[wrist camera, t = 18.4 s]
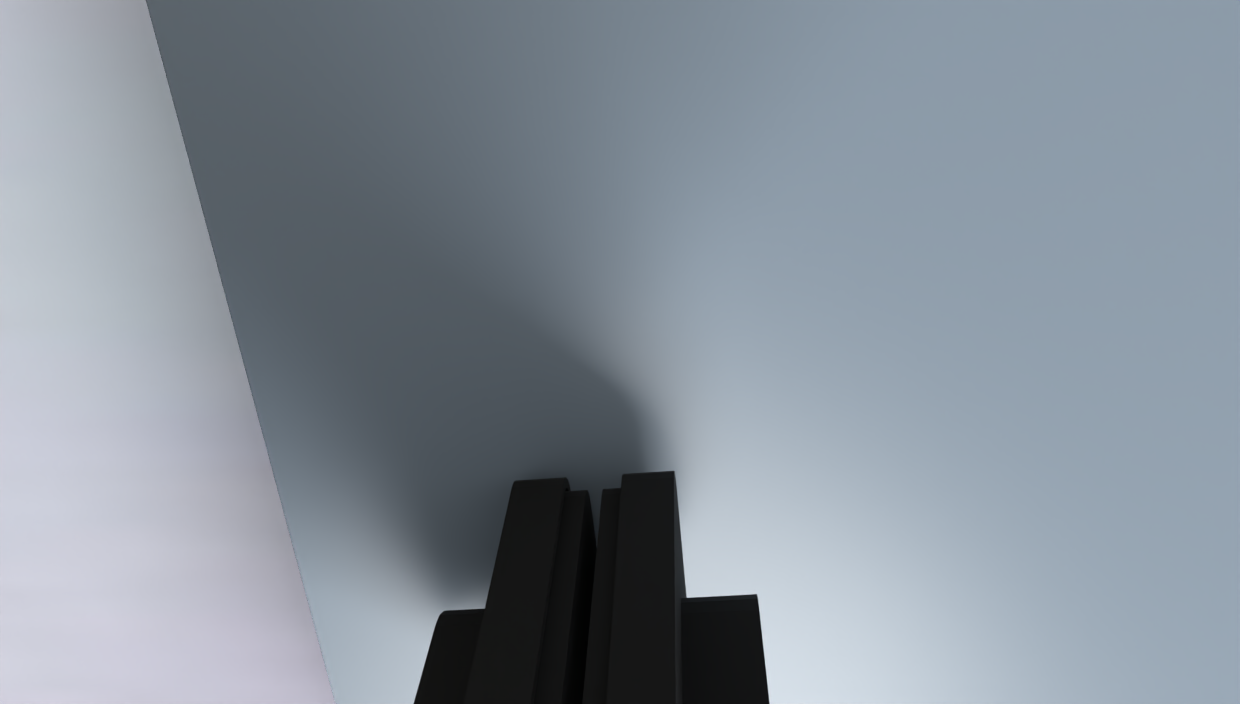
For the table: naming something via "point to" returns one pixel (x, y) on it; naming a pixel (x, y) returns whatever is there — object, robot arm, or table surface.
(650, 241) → the panel
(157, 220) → the table surface
